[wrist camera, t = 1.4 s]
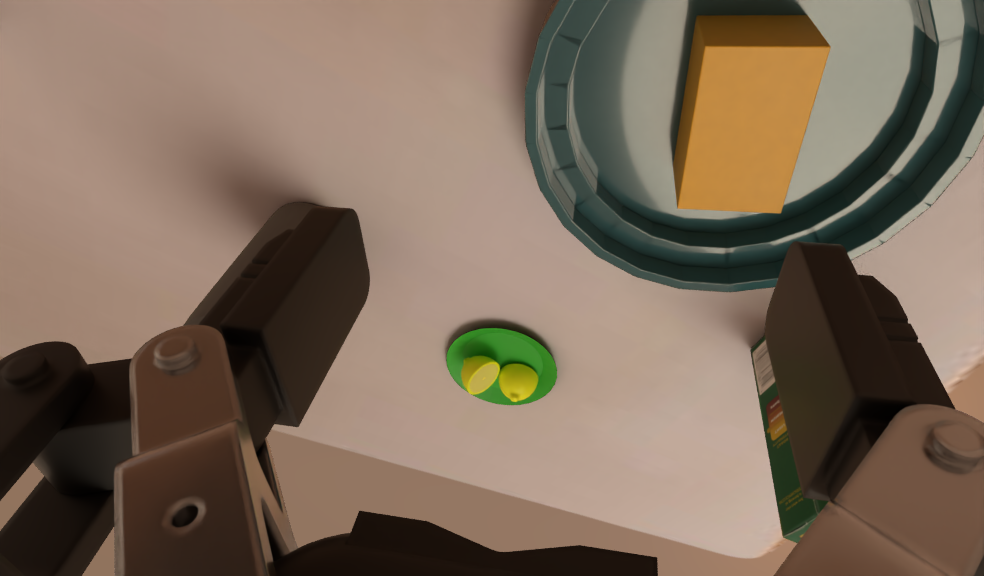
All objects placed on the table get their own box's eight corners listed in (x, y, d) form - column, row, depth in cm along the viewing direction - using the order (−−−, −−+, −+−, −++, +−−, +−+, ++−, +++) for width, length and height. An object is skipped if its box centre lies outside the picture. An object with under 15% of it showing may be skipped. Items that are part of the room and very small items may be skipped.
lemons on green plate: (449, 389, 46) (440, 419, 44) (447, 314, 41) (437, 343, 39) (552, 406, 46) (548, 436, 43) (563, 331, 40) (559, 361, 38)
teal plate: (530, -140, 24) (519, -132, 22) (1080, -166, 21) (1134, -160, 19) (534, 247, 36) (527, 279, 34) (880, 268, 33) (898, 304, 31)
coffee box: (741, 348, 39) (779, 544, 29) (771, 320, 37) (822, 518, 27) (846, 394, 40) (918, 598, 30) (881, 369, 38) (970, 578, 28)
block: (696, 15, 26) (704, 45, 23) (808, 14, 26) (831, 46, 23) (672, 167, 31) (677, 209, 28) (766, 171, 30) (781, 214, 28)
